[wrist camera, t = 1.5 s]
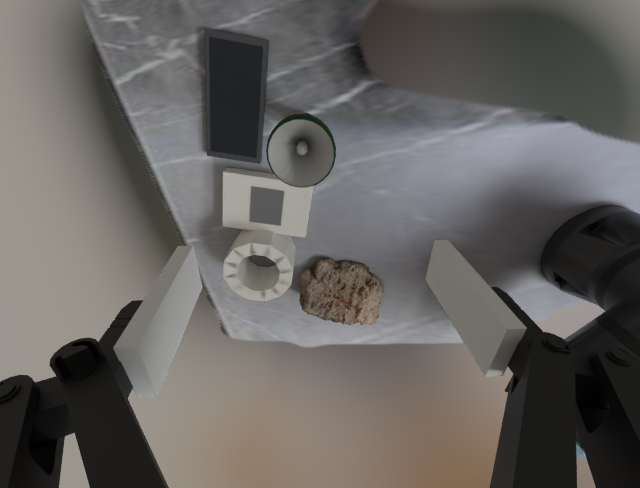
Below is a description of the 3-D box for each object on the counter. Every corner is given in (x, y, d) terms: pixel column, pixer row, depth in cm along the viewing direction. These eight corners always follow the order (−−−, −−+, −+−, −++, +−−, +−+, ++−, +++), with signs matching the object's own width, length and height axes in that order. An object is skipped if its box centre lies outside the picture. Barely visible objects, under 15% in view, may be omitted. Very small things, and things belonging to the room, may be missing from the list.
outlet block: (313, 179, 43) (313, 195, 37) (298, 280, 51) (296, 305, 45) (227, 167, 42) (214, 180, 36) (226, 271, 50) (214, 295, 44)
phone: (269, 41, 35) (267, 40, 34) (261, 161, 41) (259, 163, 40) (207, 29, 34) (204, 28, 33) (209, 154, 41) (206, 155, 40)
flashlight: (322, 97, 38) (331, 110, 20) (329, 139, 40) (341, 183, 23) (283, 104, 38) (256, 123, 20) (291, 145, 40) (274, 194, 23)
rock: (292, 295, 53) (289, 318, 48) (311, 246, 48) (310, 266, 43) (371, 317, 55) (376, 341, 50) (396, 273, 51) (405, 294, 46)
